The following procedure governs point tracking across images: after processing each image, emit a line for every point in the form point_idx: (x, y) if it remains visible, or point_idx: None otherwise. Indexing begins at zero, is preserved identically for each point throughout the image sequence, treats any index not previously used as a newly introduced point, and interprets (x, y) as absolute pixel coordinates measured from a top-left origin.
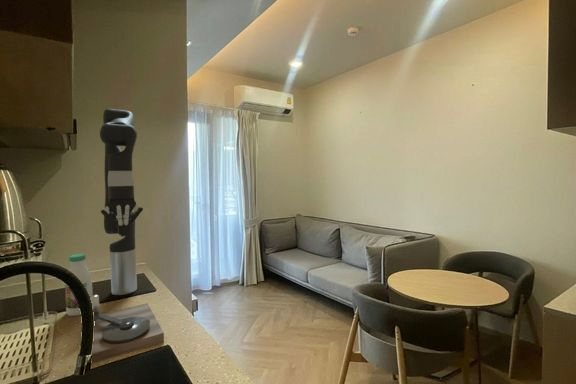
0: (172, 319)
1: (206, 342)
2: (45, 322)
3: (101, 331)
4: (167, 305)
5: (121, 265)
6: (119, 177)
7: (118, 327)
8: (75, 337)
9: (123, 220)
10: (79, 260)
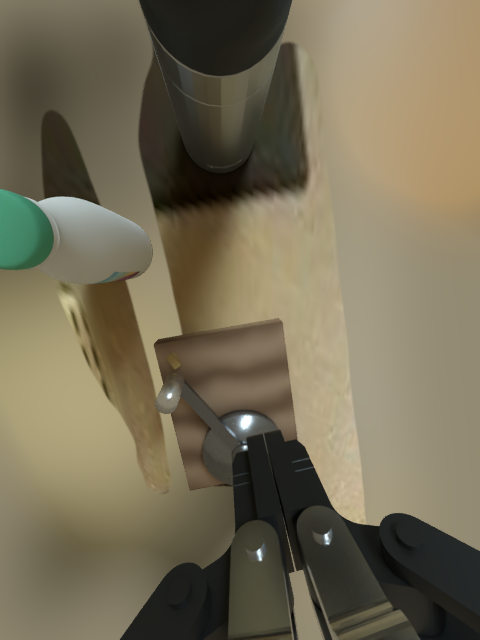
0: (320, 386)
1: (354, 482)
2: (61, 281)
3: (198, 422)
4: (321, 311)
5: (213, 122)
6: None
7: (229, 449)
8: (150, 384)
9: (316, 586)
10: (35, 266)
